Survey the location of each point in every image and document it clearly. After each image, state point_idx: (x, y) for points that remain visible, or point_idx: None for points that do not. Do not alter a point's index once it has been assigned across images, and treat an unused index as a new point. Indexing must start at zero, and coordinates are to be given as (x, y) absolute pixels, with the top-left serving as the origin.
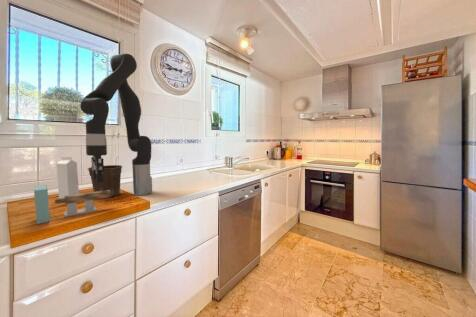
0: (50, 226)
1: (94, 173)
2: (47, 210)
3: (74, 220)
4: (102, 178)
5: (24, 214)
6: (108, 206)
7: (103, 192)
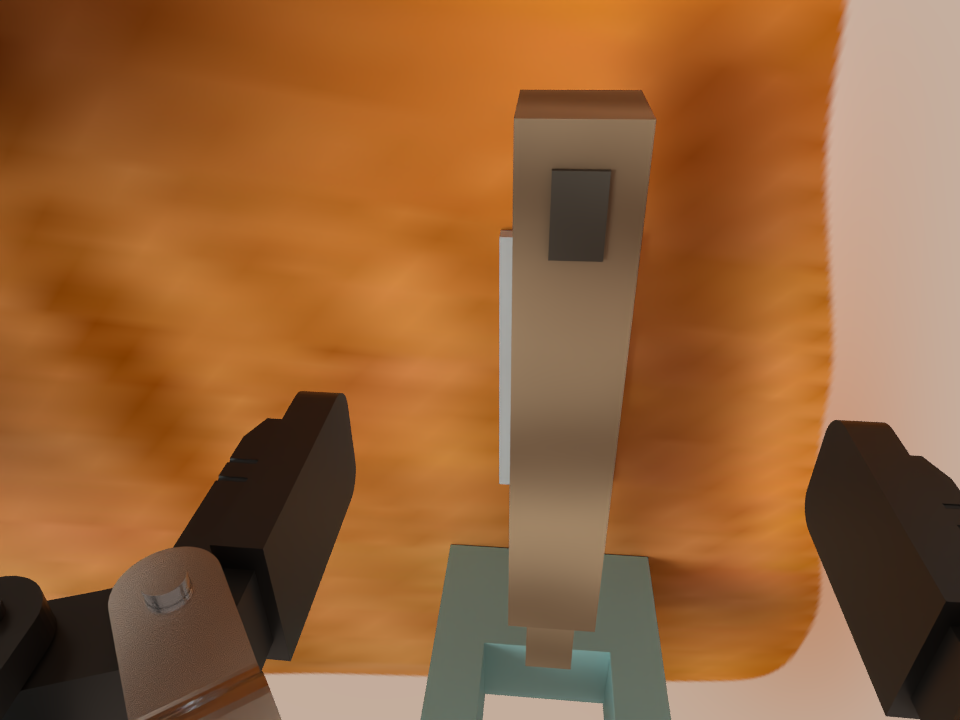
0: (786, 562)
1: (303, 595)
2: (658, 649)
3: (794, 440)
4: (924, 483)
5: (302, 634)
6: (532, 77)
7: (638, 241)
